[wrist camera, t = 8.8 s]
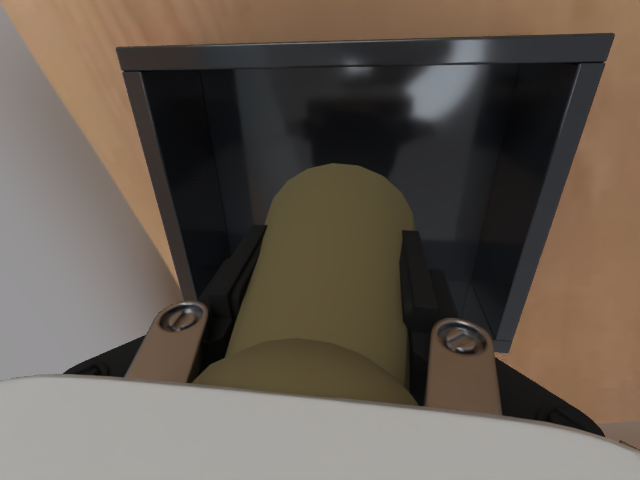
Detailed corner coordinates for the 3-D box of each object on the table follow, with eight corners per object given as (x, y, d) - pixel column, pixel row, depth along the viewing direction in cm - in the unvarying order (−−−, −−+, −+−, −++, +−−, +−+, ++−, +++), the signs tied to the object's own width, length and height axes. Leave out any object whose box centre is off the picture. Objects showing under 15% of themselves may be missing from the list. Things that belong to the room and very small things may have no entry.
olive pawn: (278, 296, 16) (138, 670, 6) (253, 168, 13) (-67, 494, 4) (413, 296, 15) (489, 737, 5) (418, 157, 12) (597, 571, 3)
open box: (189, 46, 18) (114, 46, 13) (536, 37, 16) (617, 32, 11) (229, 268, 24) (190, 328, 19) (477, 282, 22) (508, 353, 17)
